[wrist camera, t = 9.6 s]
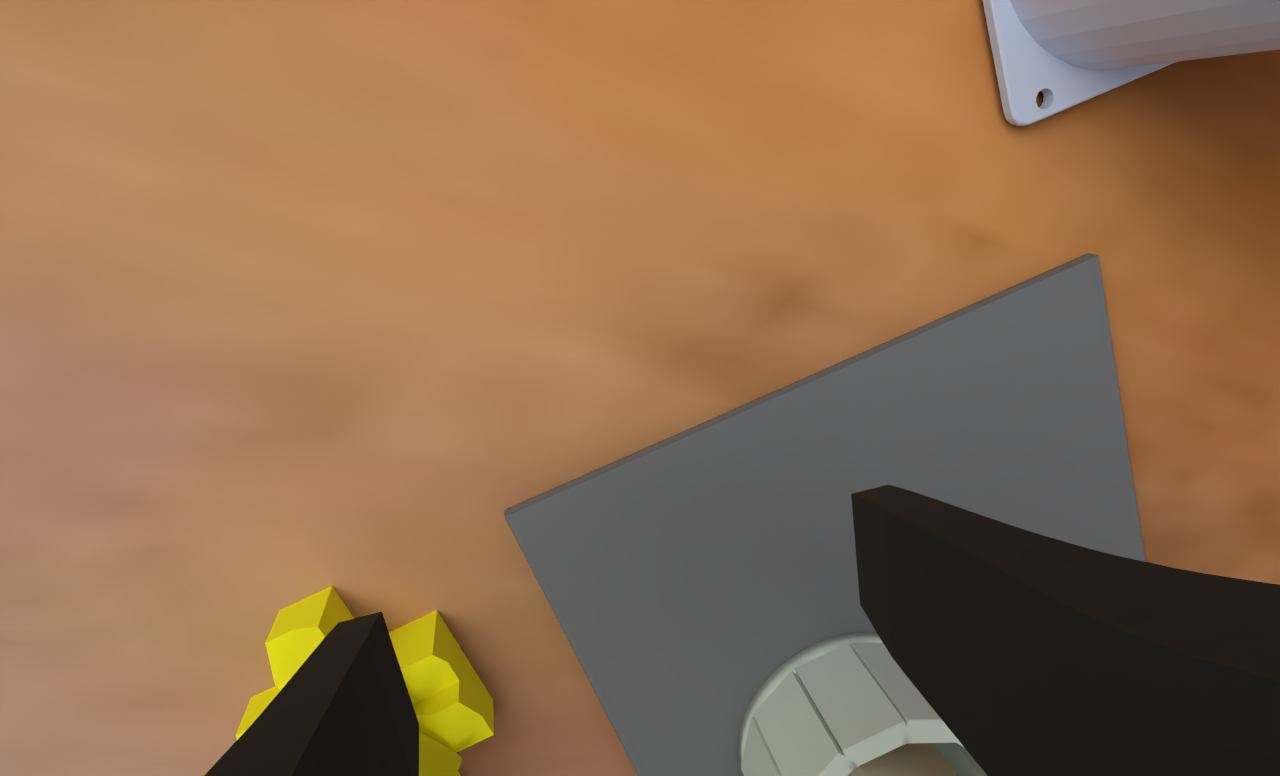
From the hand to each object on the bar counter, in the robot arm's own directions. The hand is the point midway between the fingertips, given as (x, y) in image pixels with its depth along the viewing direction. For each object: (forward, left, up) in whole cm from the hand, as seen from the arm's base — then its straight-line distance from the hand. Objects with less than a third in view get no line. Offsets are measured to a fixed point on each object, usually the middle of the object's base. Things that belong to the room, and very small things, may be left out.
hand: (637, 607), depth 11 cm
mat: (-7, +11, -10) cm, 17 cm away
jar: (-4, +15, -10) cm, 18 cm away
